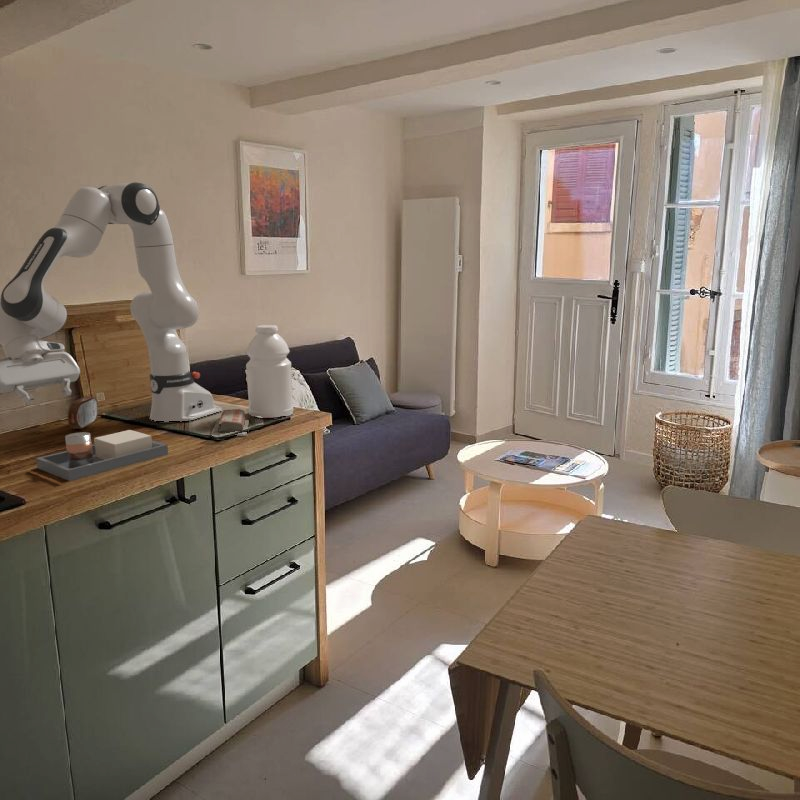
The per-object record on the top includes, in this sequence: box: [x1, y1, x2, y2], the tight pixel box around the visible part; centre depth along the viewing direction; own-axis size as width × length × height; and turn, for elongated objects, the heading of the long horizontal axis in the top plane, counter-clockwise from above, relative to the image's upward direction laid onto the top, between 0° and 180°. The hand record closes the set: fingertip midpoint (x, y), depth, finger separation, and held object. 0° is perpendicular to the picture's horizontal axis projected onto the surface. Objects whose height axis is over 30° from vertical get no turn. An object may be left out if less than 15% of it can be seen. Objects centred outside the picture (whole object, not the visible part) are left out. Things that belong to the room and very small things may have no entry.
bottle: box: [245, 324, 294, 417], centre depth 226 cm, size 14×14×28 cm
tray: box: [35, 440, 169, 482], centre depth 181 cm, size 26×16×3 cm, turn 141°
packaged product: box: [210, 408, 248, 436], centre depth 211 cm, size 18×5×10 cm
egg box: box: [93, 429, 153, 460], centre depth 185 cm, size 10×10×5 cm
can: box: [64, 431, 94, 469], centre depth 176 cm, size 6×6×8 cm
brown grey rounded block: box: [67, 395, 99, 430], centre depth 217 cm, size 15×3×8 cm, turn 178°
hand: (49, 397), depth 181 cm, fingers open, 8 cm apart
